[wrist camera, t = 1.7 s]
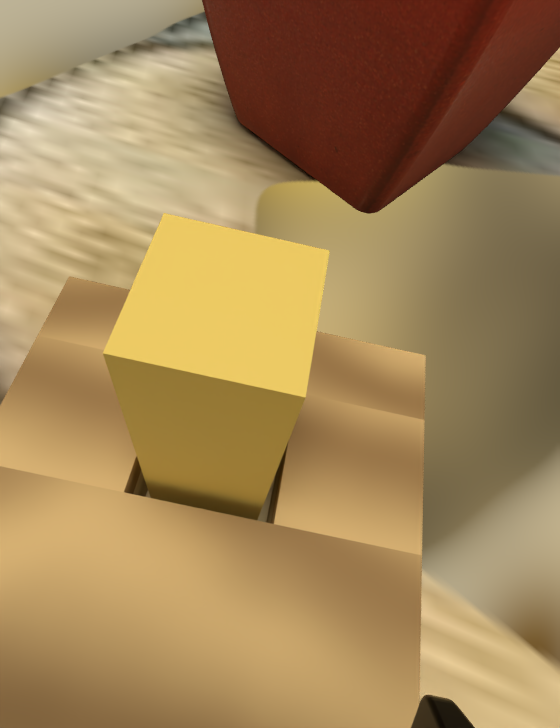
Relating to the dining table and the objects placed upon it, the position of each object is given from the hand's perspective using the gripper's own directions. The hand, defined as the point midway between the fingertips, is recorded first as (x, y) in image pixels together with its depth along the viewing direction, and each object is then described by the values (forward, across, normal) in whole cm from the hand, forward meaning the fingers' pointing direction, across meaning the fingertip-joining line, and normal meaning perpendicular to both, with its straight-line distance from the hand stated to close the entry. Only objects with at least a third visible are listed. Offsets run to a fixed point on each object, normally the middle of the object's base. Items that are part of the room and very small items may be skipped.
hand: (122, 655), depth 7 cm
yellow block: (+13, 0, +4) cm, 14 cm away
